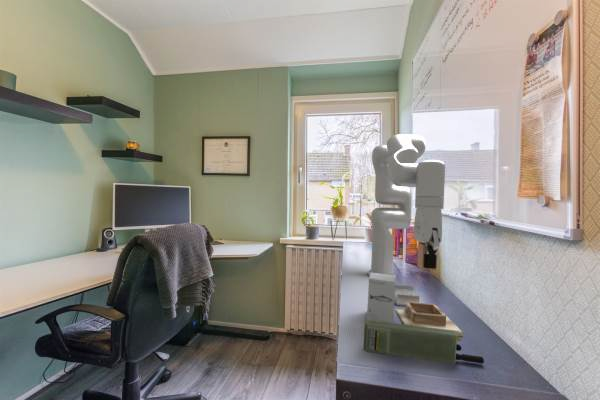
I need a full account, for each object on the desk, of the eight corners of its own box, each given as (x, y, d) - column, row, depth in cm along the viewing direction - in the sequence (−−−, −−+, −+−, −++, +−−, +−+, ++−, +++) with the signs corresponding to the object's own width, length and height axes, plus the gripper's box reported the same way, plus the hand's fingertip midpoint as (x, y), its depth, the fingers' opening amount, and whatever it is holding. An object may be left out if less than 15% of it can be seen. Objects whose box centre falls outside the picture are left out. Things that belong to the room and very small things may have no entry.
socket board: (395, 311, 82) (396, 300, 82) (443, 316, 80) (443, 304, 80) (406, 331, 70) (407, 317, 70) (462, 336, 68) (463, 322, 68)
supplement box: (366, 322, 74) (367, 278, 74) (368, 312, 81) (370, 271, 81) (393, 327, 71) (395, 281, 71) (394, 316, 78) (395, 274, 78)
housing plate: (391, 296, 95) (391, 283, 95) (411, 297, 94) (412, 285, 94) (396, 305, 87) (397, 291, 87) (419, 306, 86) (419, 293, 86)
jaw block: (417, 266, 79) (418, 242, 79) (431, 266, 78) (432, 243, 78) (421, 269, 75) (422, 245, 75) (436, 270, 74) (437, 245, 74)
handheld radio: (363, 345, 63) (478, 360, 58) (364, 353, 60) (486, 371, 55) (364, 317, 63) (480, 331, 58) (365, 324, 59) (488, 340, 55)
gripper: (407, 202, 85) (405, 259, 85) (425, 203, 69) (423, 273, 69) (431, 203, 84) (429, 260, 84) (456, 204, 68) (453, 275, 68)
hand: (426, 265), depth 76 cm, fingers closed on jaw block, 4 cm apart
